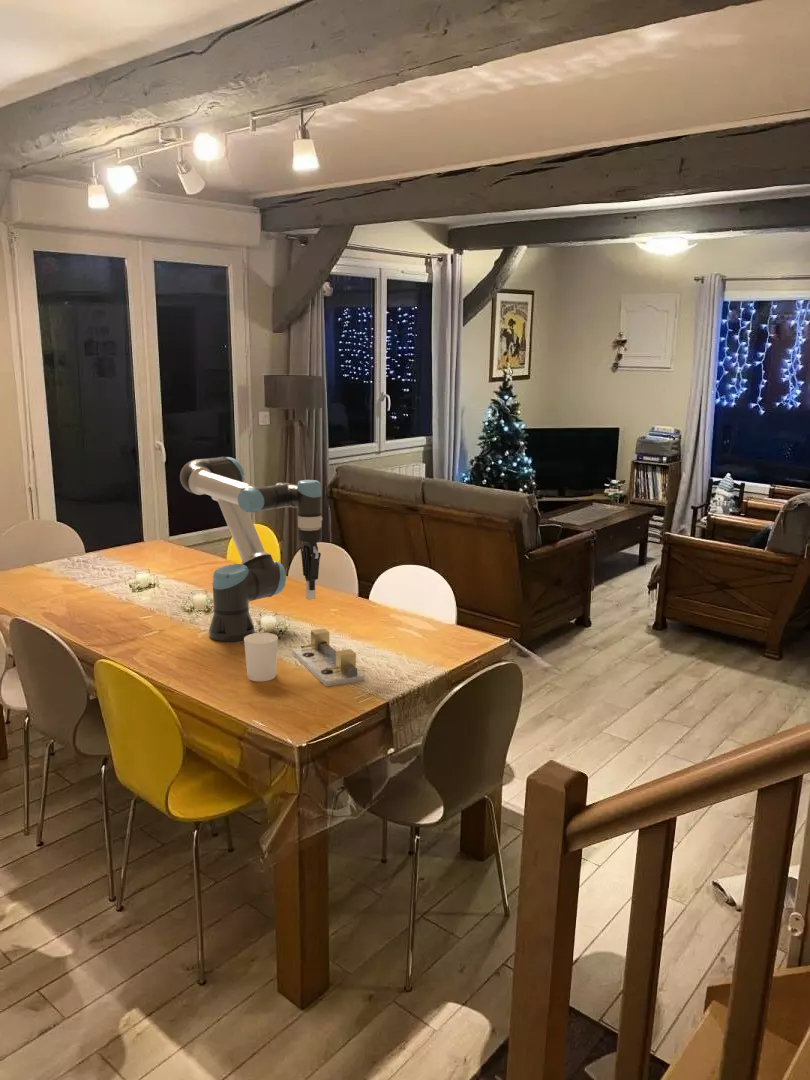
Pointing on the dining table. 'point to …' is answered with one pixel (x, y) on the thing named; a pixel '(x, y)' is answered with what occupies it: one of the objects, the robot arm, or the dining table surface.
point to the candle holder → (261, 656)
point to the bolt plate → (329, 664)
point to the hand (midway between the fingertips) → (310, 598)
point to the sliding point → (318, 638)
